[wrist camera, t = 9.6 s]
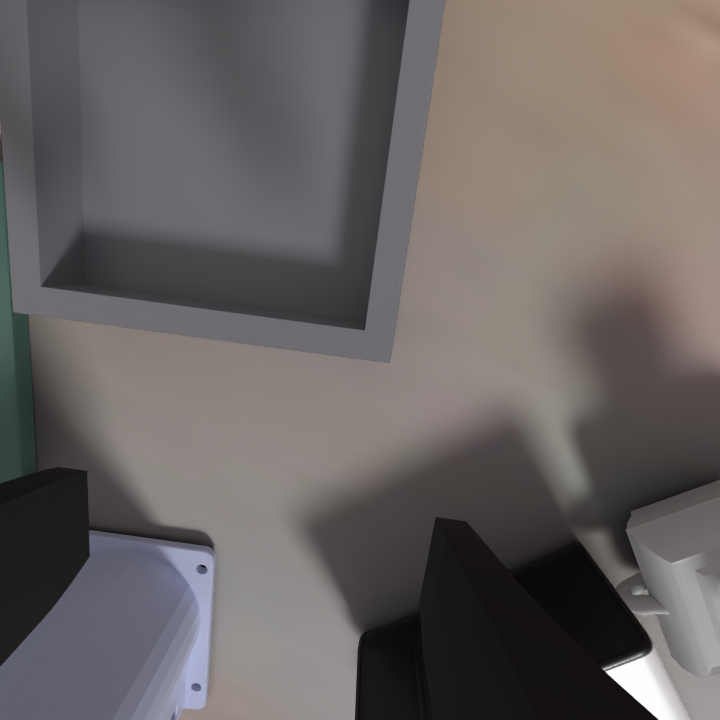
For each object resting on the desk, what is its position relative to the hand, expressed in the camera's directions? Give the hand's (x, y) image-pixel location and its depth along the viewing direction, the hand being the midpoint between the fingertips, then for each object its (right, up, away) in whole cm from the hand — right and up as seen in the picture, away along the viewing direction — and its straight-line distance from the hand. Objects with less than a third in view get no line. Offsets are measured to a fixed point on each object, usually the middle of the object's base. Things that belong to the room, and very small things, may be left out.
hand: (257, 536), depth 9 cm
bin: (-2, +11, +7) cm, 14 cm away
